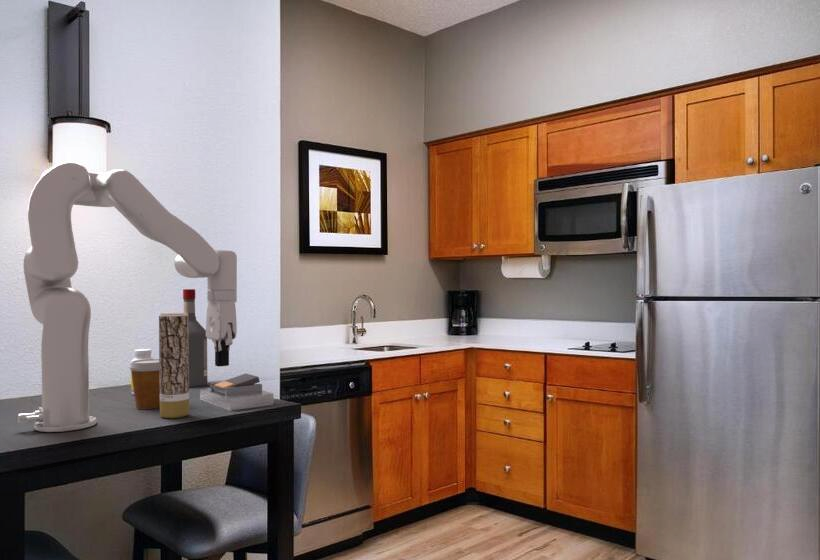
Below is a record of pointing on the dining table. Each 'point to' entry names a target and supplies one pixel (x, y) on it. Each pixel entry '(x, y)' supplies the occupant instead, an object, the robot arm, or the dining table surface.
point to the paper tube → (174, 364)
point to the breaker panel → (237, 397)
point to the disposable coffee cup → (146, 383)
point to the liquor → (195, 343)
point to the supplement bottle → (140, 355)
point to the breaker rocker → (236, 382)
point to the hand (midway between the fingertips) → (222, 365)
